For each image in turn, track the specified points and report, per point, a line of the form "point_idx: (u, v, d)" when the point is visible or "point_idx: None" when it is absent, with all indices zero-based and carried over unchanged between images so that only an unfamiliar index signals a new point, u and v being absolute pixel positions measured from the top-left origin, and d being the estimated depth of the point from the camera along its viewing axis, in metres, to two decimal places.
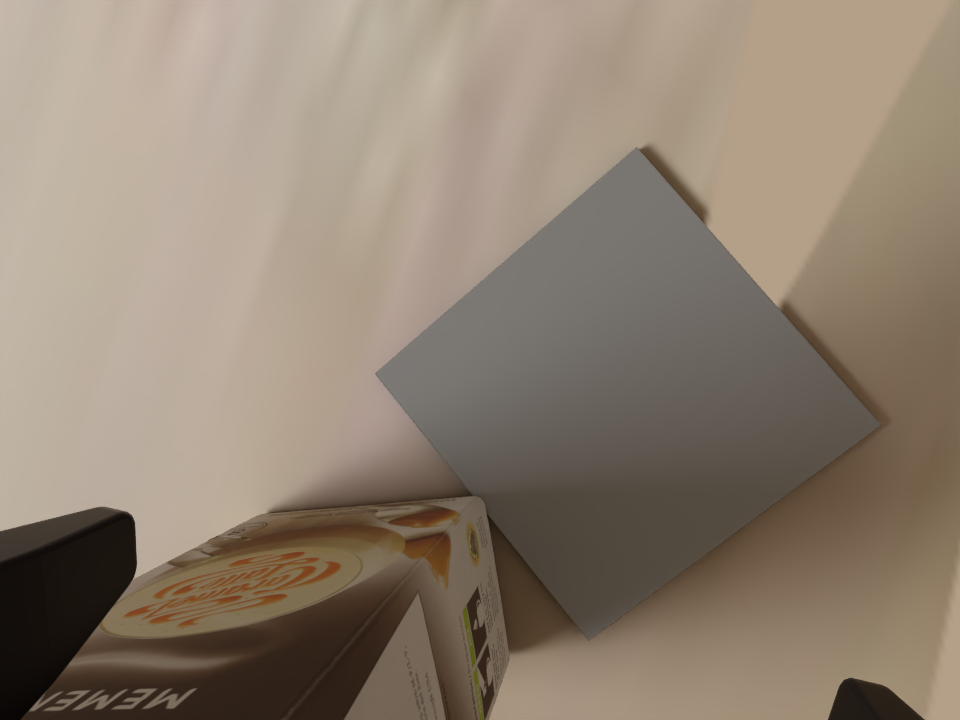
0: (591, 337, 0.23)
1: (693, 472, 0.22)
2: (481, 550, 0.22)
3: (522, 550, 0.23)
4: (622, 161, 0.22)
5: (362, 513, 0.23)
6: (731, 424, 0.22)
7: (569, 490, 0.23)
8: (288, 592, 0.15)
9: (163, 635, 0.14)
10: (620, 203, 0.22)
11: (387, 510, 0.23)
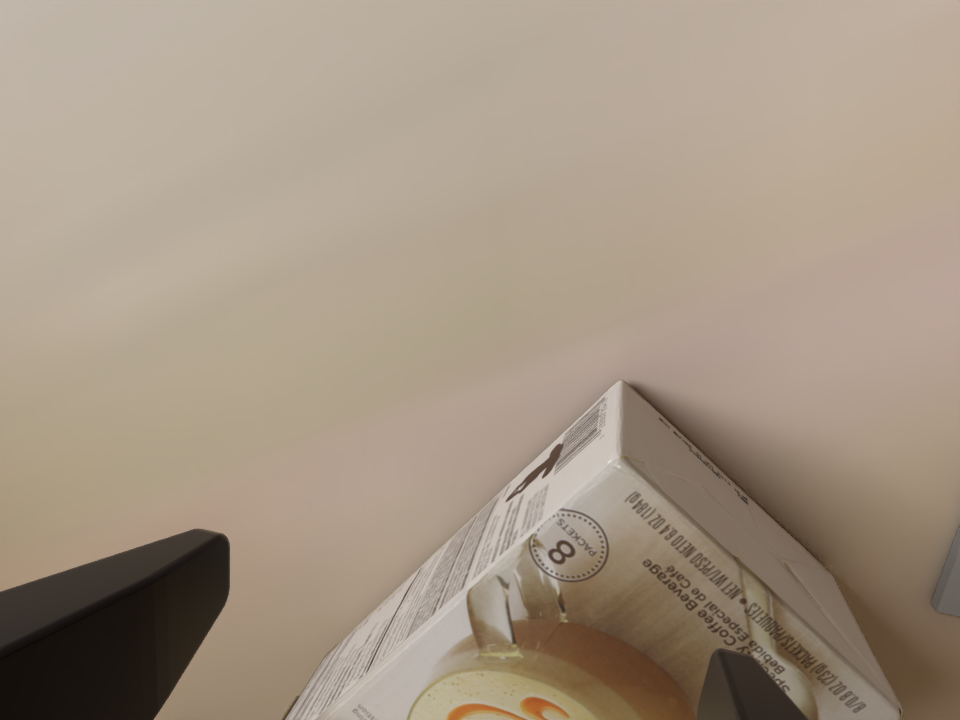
0: None
1: None
2: None
3: None
4: None
5: (727, 648, 0.15)
6: None
7: None
8: None
9: None
10: None
11: None
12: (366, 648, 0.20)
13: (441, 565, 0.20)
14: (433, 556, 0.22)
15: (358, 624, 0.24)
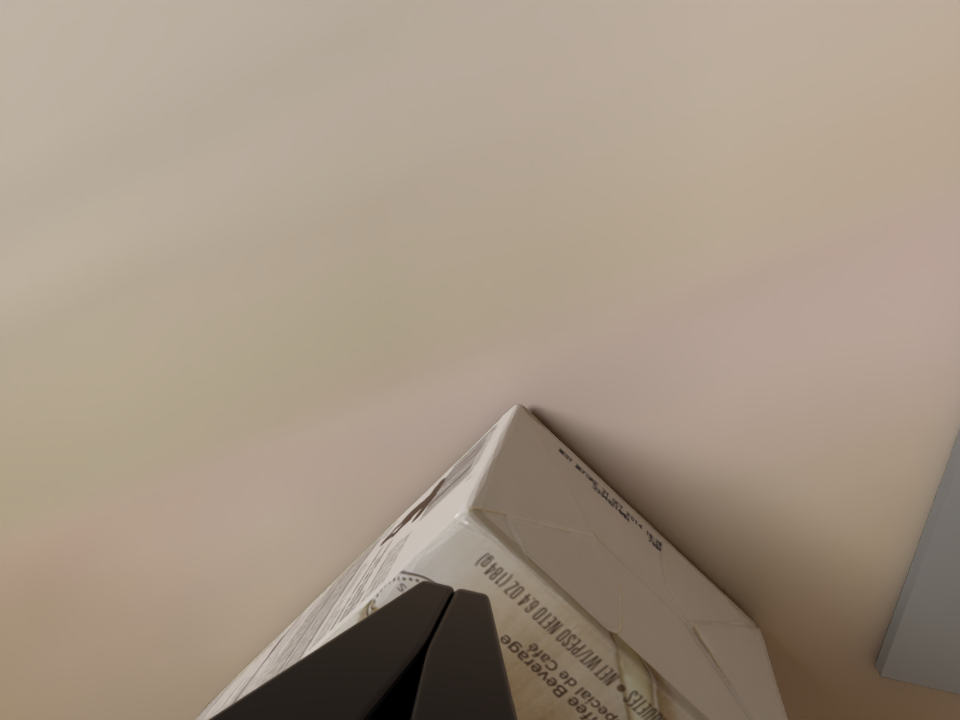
0: None
1: None
2: None
3: (933, 550, 0.16)
4: None
5: None
6: None
7: None
8: None
9: None
10: None
11: None
12: None
13: (308, 617, 0.17)
14: (314, 600, 0.20)
15: (239, 673, 0.22)
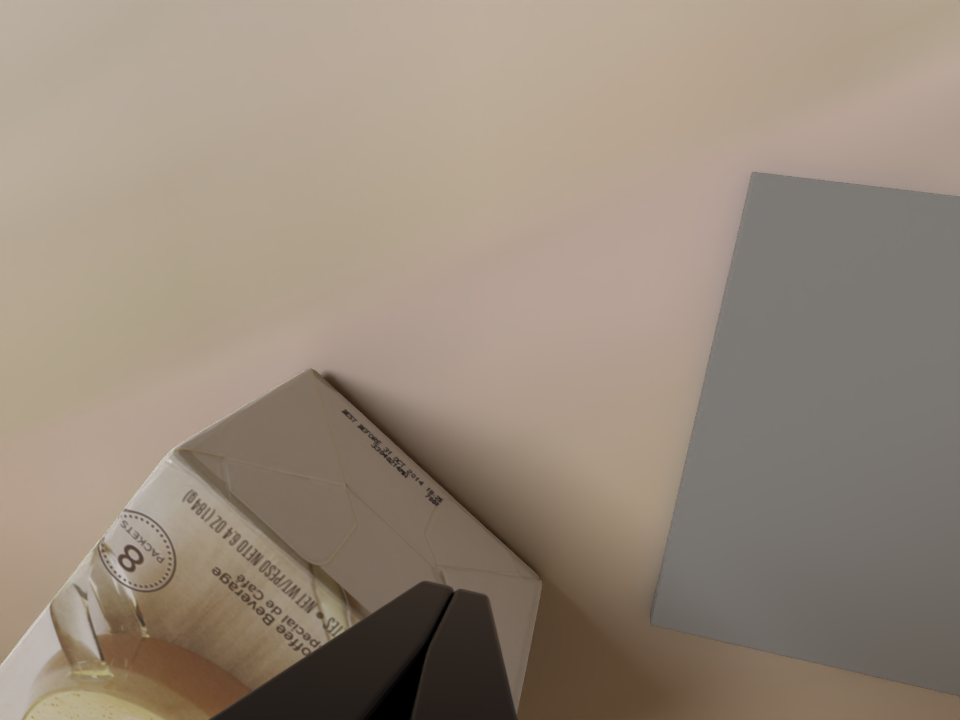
0: None
1: (934, 606, 0.16)
2: None
3: (685, 503, 0.17)
4: None
5: None
6: None
7: (801, 501, 0.16)
8: None
9: None
10: None
11: None
12: None
13: None
14: None
15: None
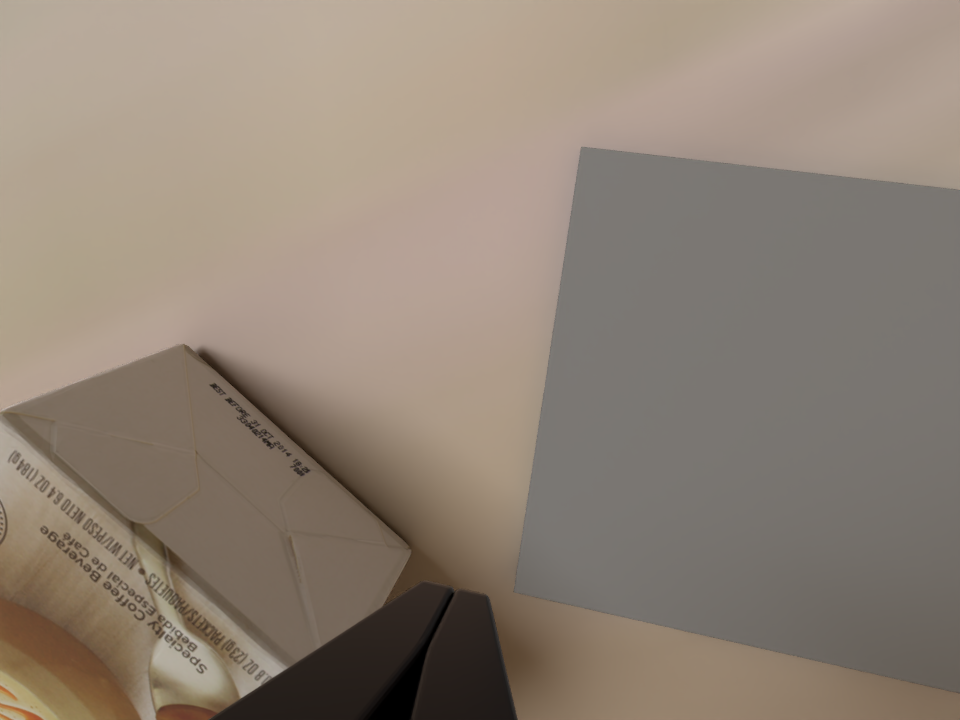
0: (847, 360, 0.15)
1: (774, 569, 0.17)
2: None
3: (537, 471, 0.17)
4: None
5: (139, 623, 0.14)
6: (862, 570, 0.16)
7: (644, 468, 0.17)
8: None
9: None
10: None
11: (175, 644, 0.14)
12: None
13: None
14: None
15: None
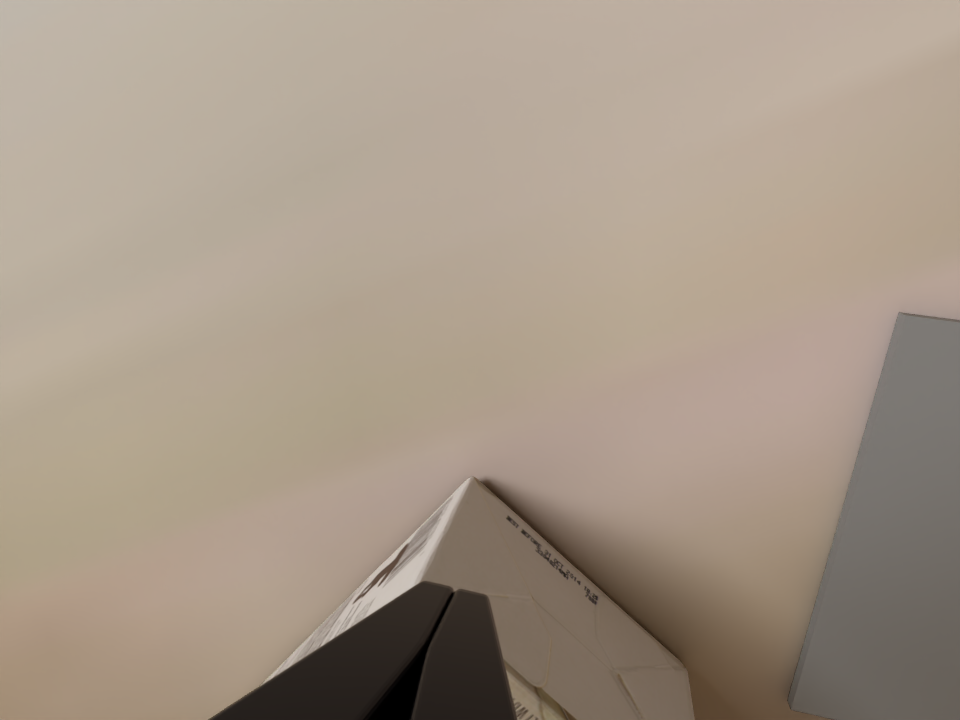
0: None
1: None
2: None
3: (828, 601, 0.18)
4: None
5: None
6: None
7: (938, 601, 0.18)
8: None
9: None
10: None
11: None
12: None
13: None
14: (298, 648, 0.22)
15: None
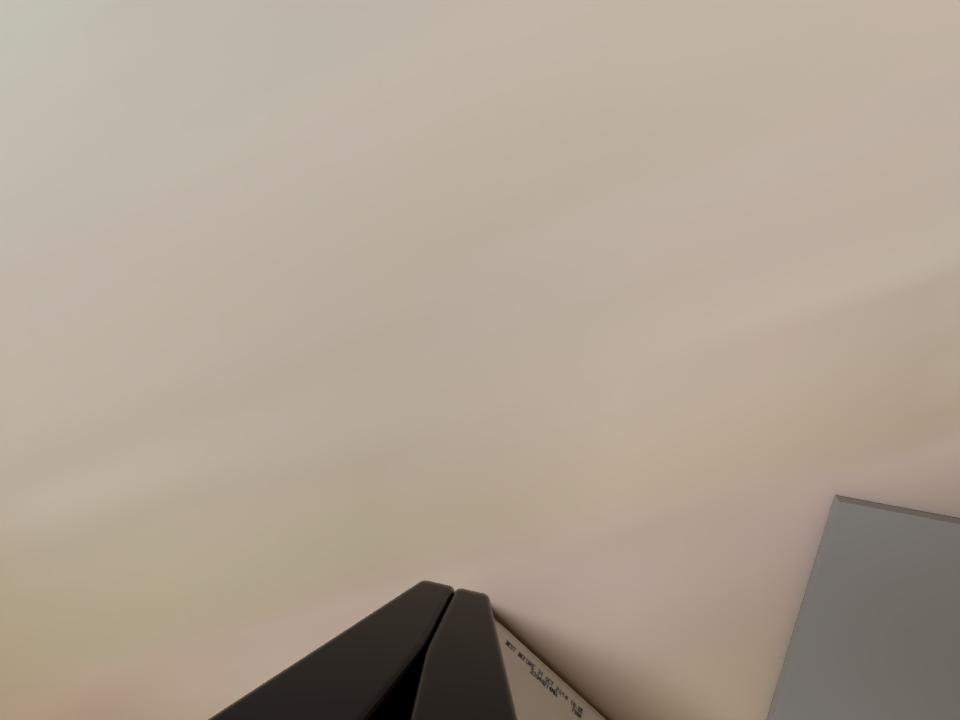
0: None
1: None
2: None
3: None
4: None
5: None
6: None
7: None
8: None
9: None
10: None
11: None
12: None
13: None
14: None
15: None
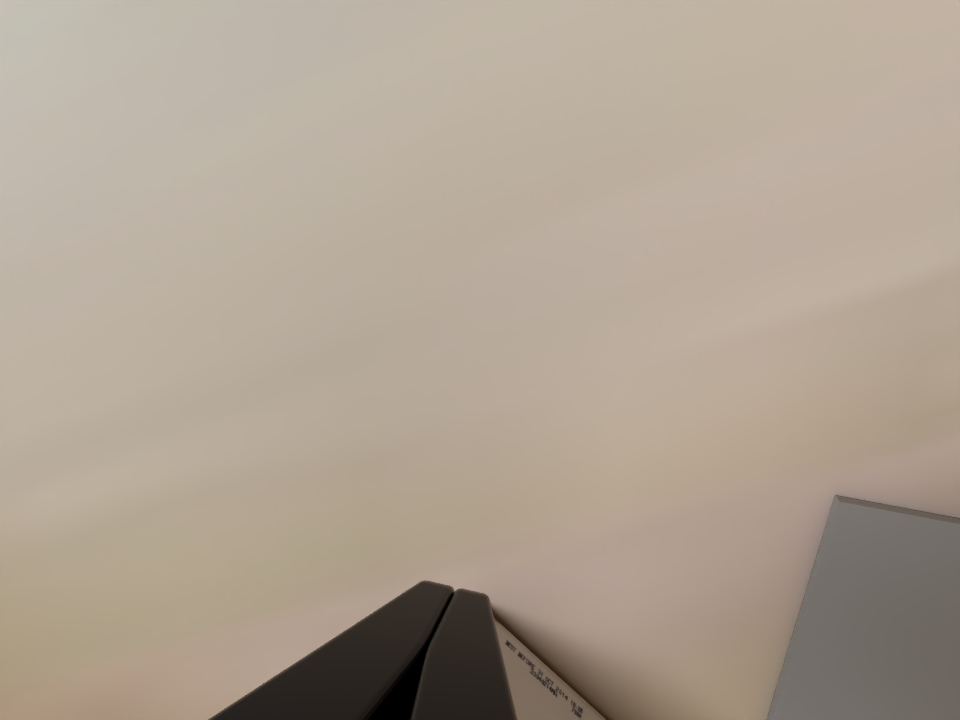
0: None
1: None
2: None
3: None
4: None
5: None
6: None
7: None
8: None
9: None
10: None
11: None
12: None
13: None
14: None
15: None
